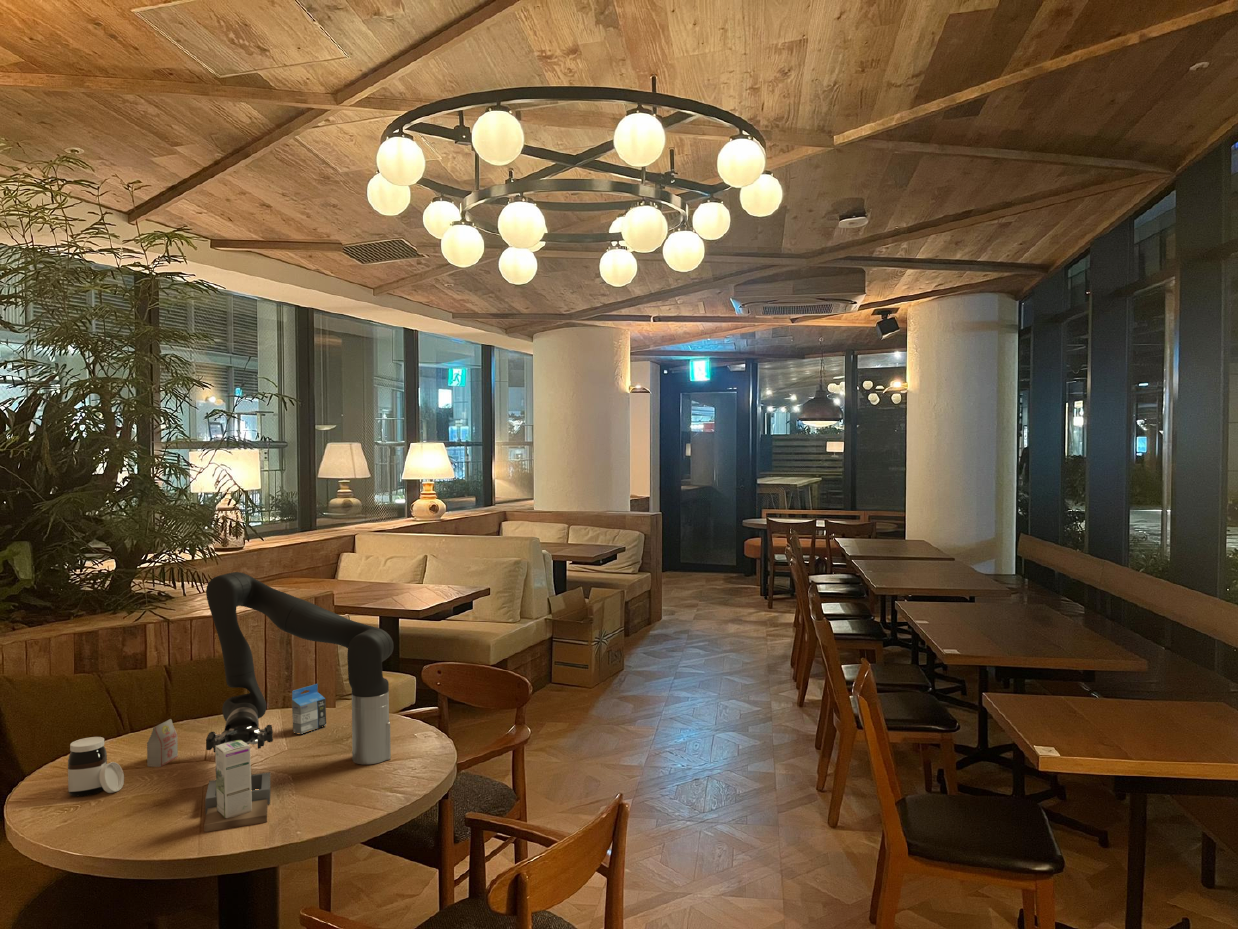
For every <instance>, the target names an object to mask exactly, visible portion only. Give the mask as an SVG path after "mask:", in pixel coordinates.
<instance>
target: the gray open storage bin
mask: <svg viewBox="0 0 1238 929" xmlns="http://www.w3.org/2000/svg"><path fill="white" fill-rule="evenodd" d="M255 789H259V790H255ZM251 790H252V791H251V793H252V801H259V800H265V799H267V804H270V805H271V772H270V771H268V772H262V773H261V772H260V773H256V774H251ZM204 801H205V805H204V806H205V815H207V810H208V808H213V807H217V799H216V779H214V780H213V779H212V780H209V782H208V786H207V790H206V794H205V800H204Z"/></svg>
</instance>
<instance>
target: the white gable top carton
mask: <svg viewBox="0 0 1238 929" xmlns="http://www.w3.org/2000/svg"><path fill="white" fill-rule="evenodd" d="M146 751H147V753H146V757H147V758H146V762H147V767H152V768H153V767H156V768H158V767H159V768H160V767H163V766H164V765H167V764H169V763H170V762H171V761H173V760H176V759H177V758H178V756H179V755H178V733H177V731H176V729H175V726H174V724H173V720H172V719H171V718H170V719H168V720H166V721H163V722H162V723H160V724H157V725H156V726H153V728H152V731H151V735H150V736H149V739H148V740H147V742H146Z"/></svg>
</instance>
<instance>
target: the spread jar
mask: <svg viewBox="0 0 1238 929" xmlns="http://www.w3.org/2000/svg"><path fill="white" fill-rule="evenodd" d="M69 746H70V748H69V751H70V753H69V755H68V759H67V776H68V777H67V790H68V795H69V796H72V797H85V796H86V797H87V796H92V795H95V793H96V794H98V793H100V791H101V792H102V791H105V792H106V793H108V794H113V793H115V792H119V791H120V790H121V789H122V788H123V787H124V784H125V775H124V774H125V773H124V771H123V768H122V767H121V765H120V764H119V763H118V762H115V761H111V762H108V757H107V756H108V755H107V754H108V753H107V749H106V747H105V738H104V737H101V736H91V737H84V738H80V739H77V740H74V741H72V742H71V743H70V744H69Z"/></svg>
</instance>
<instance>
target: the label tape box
mask: <svg viewBox="0 0 1238 929" xmlns="http://www.w3.org/2000/svg"><path fill="white" fill-rule="evenodd" d="M318 687H319V683H314V684H312V685H311V684H310V685H309V686H304V687H300V688H297V689H294V690H292V692H291V693H292V694H291V710H292V711H291V712H292V713H291V714H292V733H293V732H295V733H300V734H303V733H305V732H307V731H309V730H314V729H317V728H320V727H322V726H325V725H326V726H327V704H326V698H325V697H324V696H323V695H322V694H321V693H319V692H318ZM305 691H308V692H305ZM303 692H304V693H303ZM320 729H321V728H320ZM317 730H318V729H317ZM314 731H315V730H314ZM303 735H304V734H303Z"/></svg>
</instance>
